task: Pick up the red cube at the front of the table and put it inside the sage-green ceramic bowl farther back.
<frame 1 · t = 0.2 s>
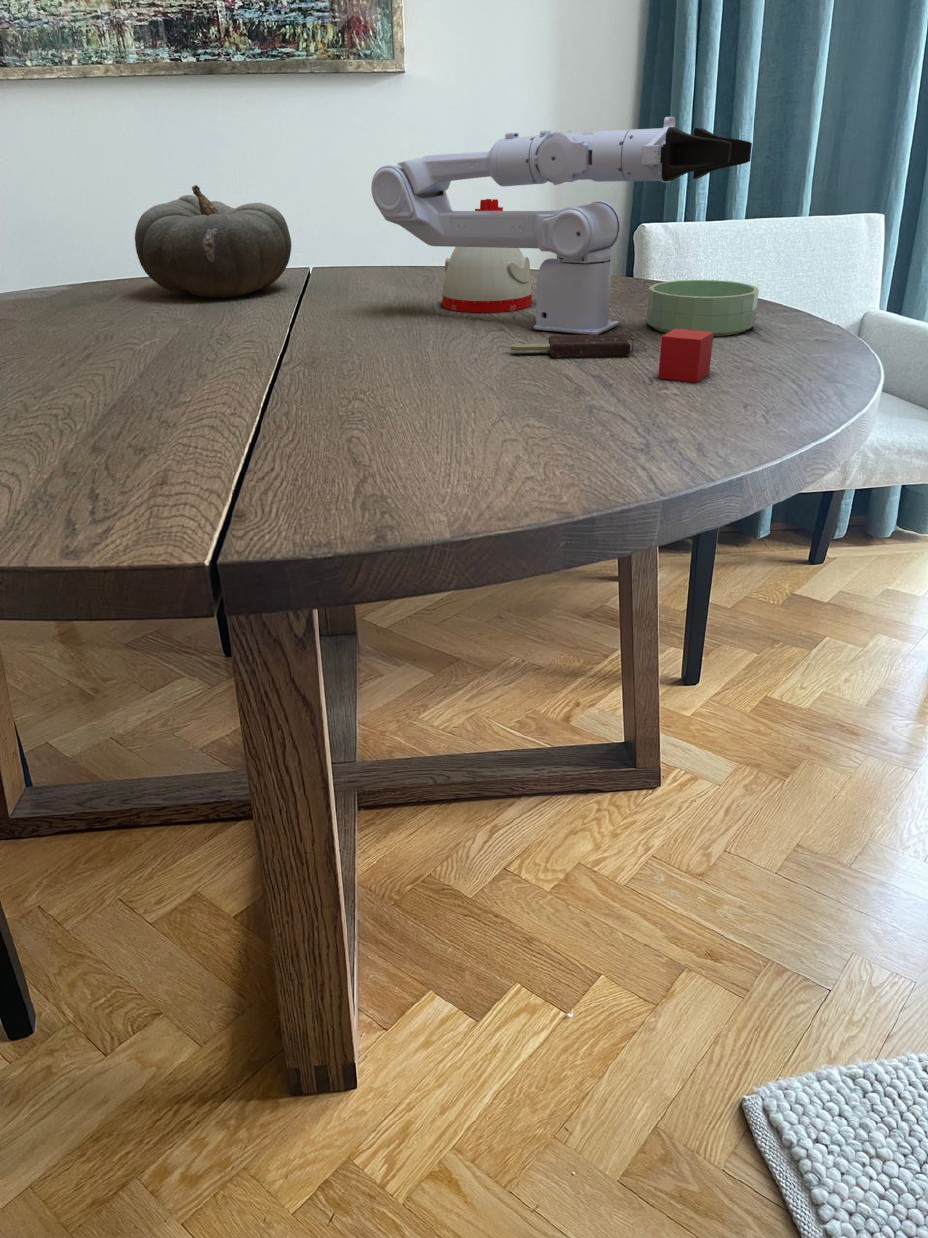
hand: (740, 152, 108), 22 cm above the table, tool horizontal, fingers open, 7 cm apart
kitchen timer: (487, 305, 145), on the table
red cube: (683, 376, 103), on the table
ice cream bar: (571, 354, 114), on the table
gourd: (223, 292, 161), on the table
bowl: (699, 326, 127), on the table
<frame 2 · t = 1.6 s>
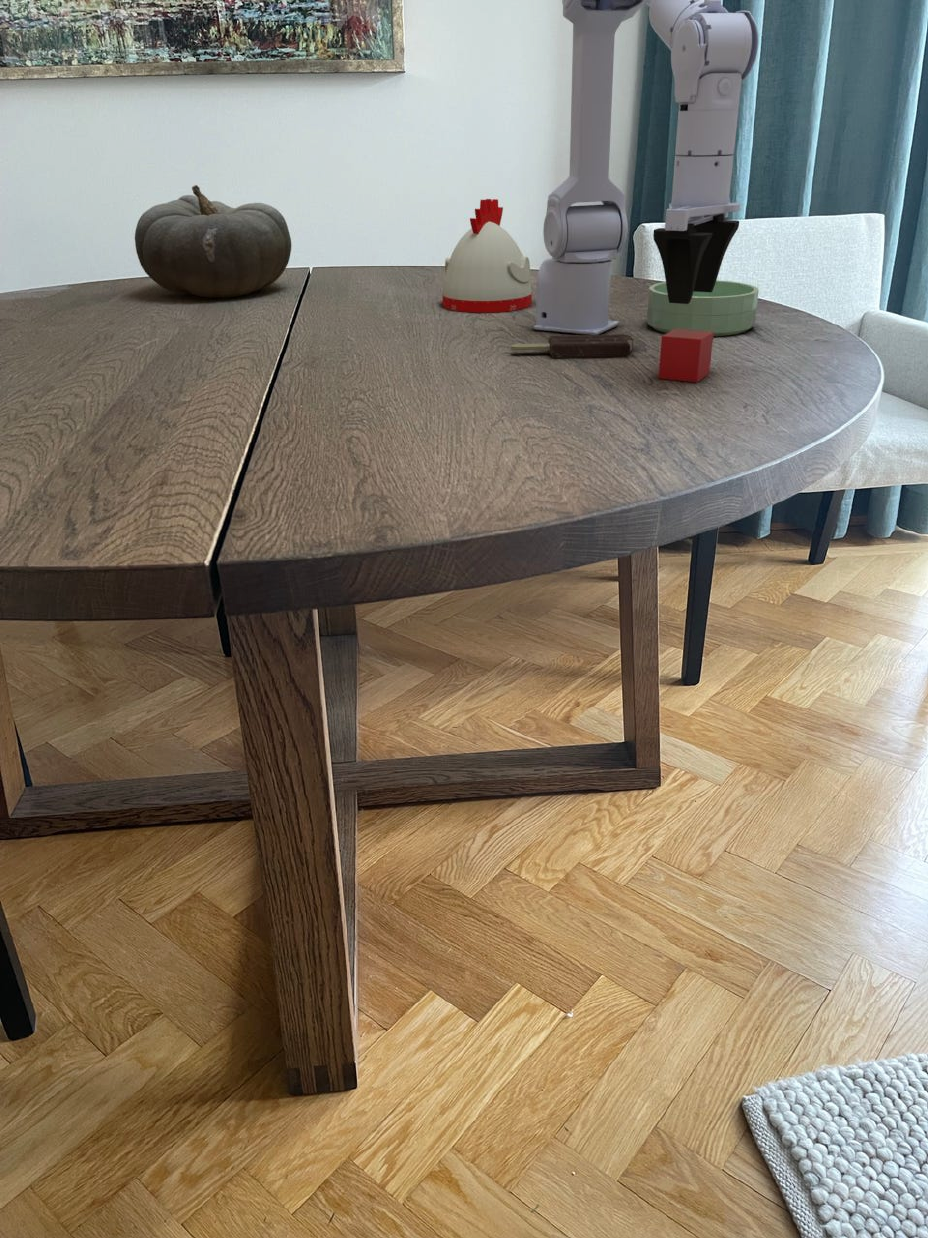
hand: (691, 297, 99), 8 cm above the table, tool pointing down, fingers open, 7 cm apart
nothing on the table moved.
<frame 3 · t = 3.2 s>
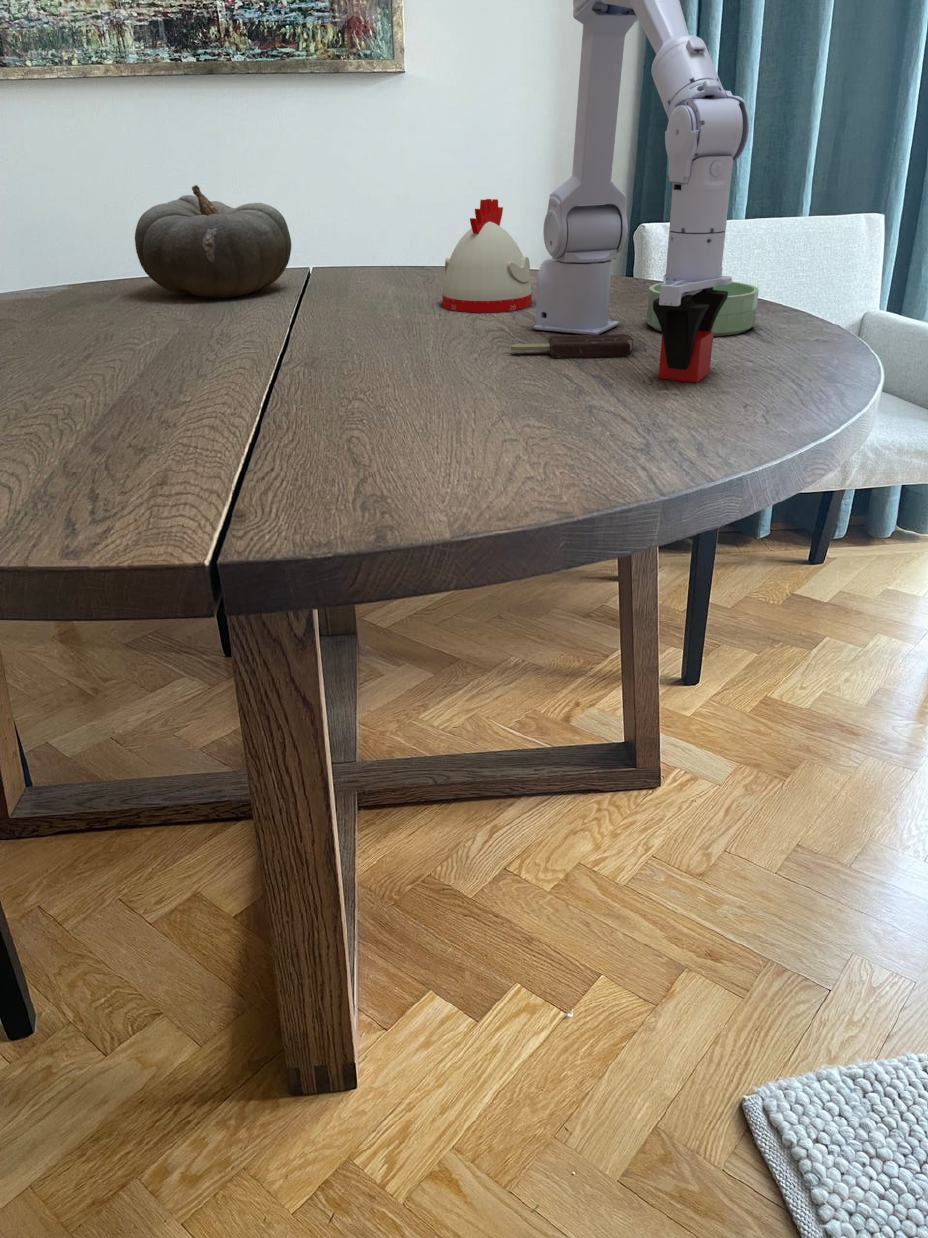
hand: (685, 363, 103), 1 cm above the table, tool pointing down, fingers closed on red cube, 4 cm apart
red cube: (684, 376, 103), on the table, touching gripper
everything else where it was.
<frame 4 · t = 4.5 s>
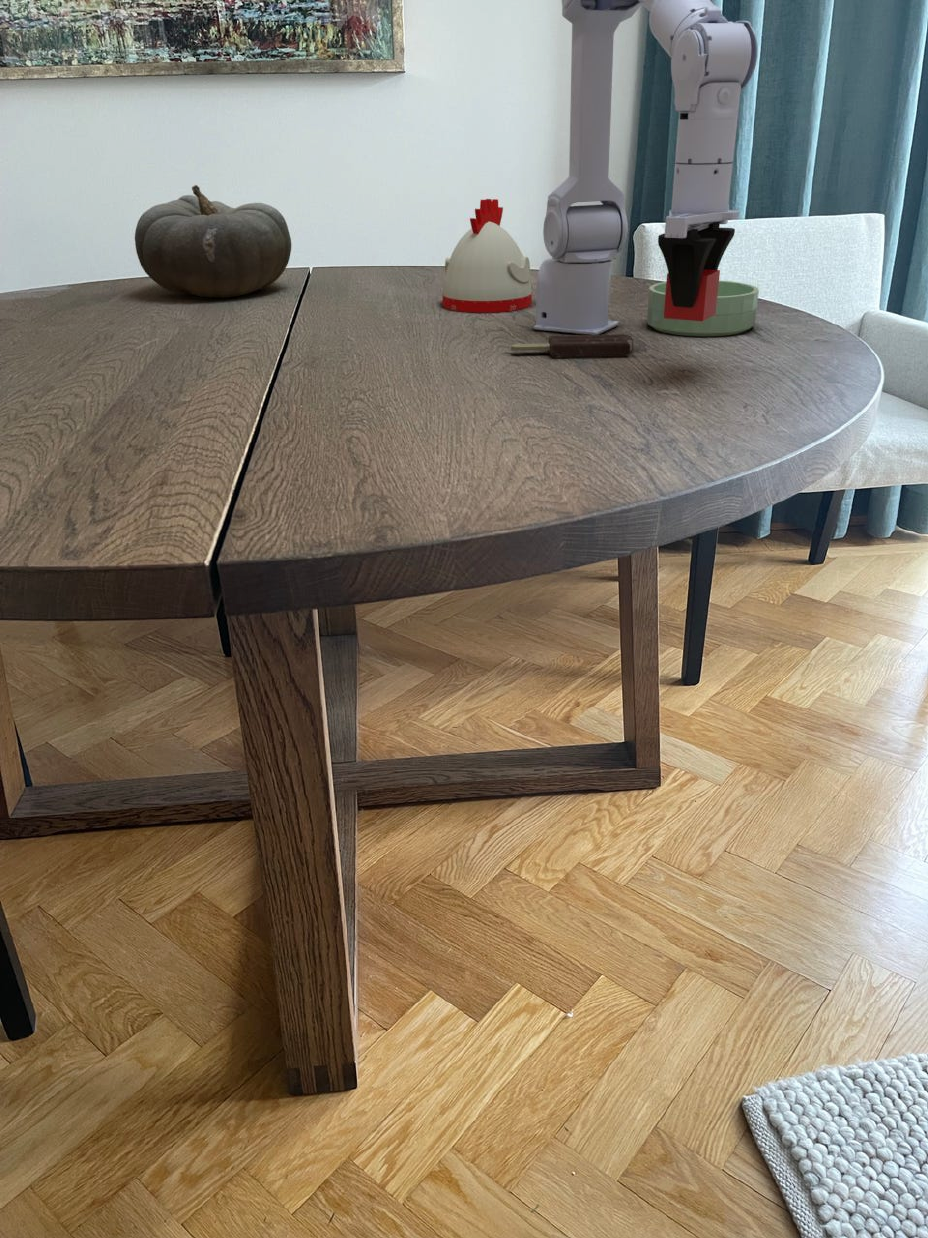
hand: (690, 302, 100), 8 cm above the table, tool pointing down, fingers closed on red cube, 4 cm apart
red cube: (689, 316, 101), point 6 cm above the table, touching gripper
everything else where it was.
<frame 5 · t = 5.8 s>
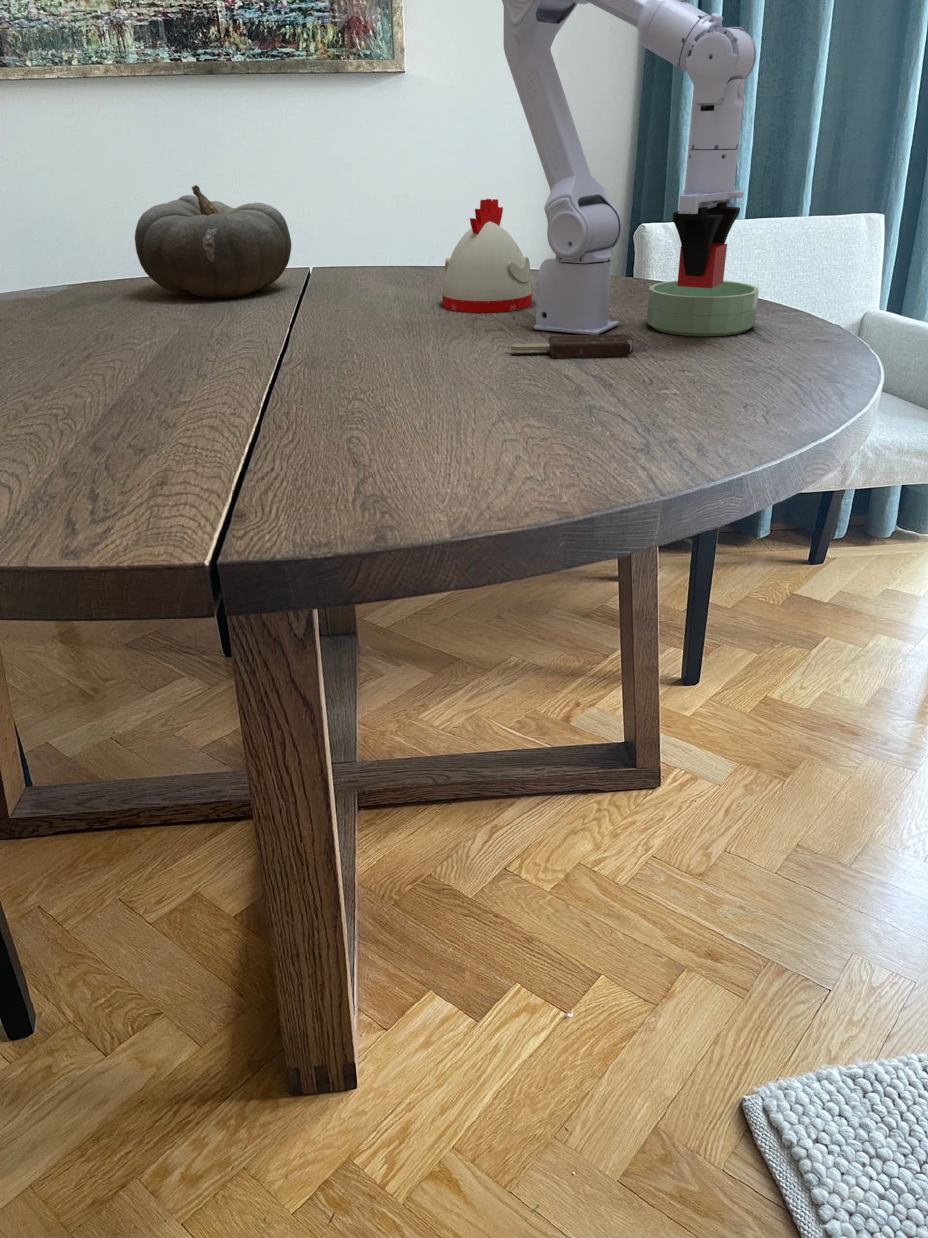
hand: (700, 272, 114), 8 cm above the table, tool pointing down, fingers closed on red cube, 4 cm apart
red cube: (700, 284, 115), point 7 cm above the table, touching gripper
everything else where it was.
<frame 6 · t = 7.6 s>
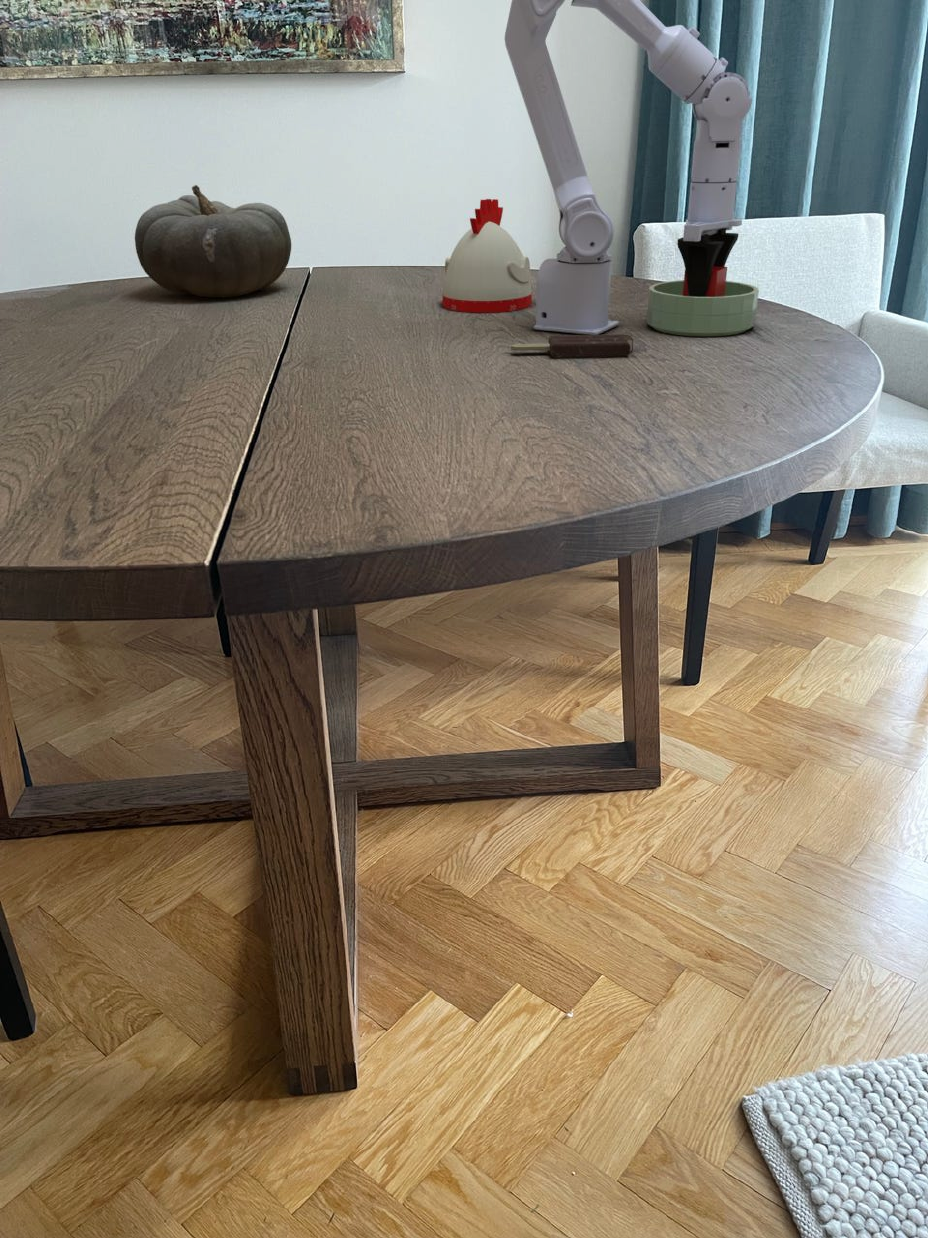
hand: (703, 293, 125), 4 cm above the table, tool pointing down, fingers closed on red cube, 4 cm apart
red cube: (702, 303, 125), point 3 cm above the table, touching gripper
everything else where it was.
when the fingers open (2 cm above the table, at t = 8.8 s): red cube stays where it is, resting on bowl.
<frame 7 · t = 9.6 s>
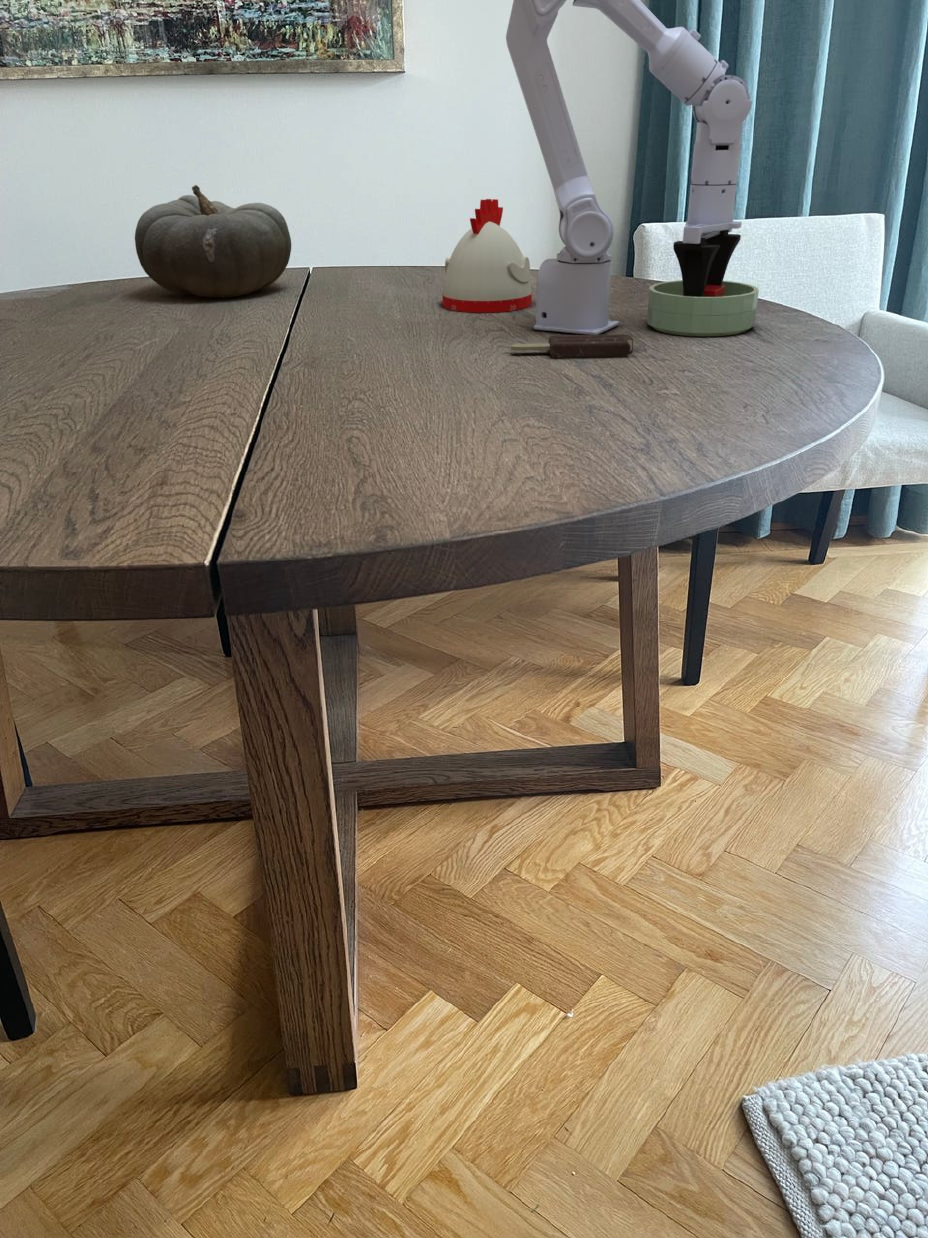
hand: (702, 295, 125), 4 cm above the table, tool pointing down, fingers open, 7 cm apart
red cube: (700, 322, 127), resting on bowl
everything else where it was.
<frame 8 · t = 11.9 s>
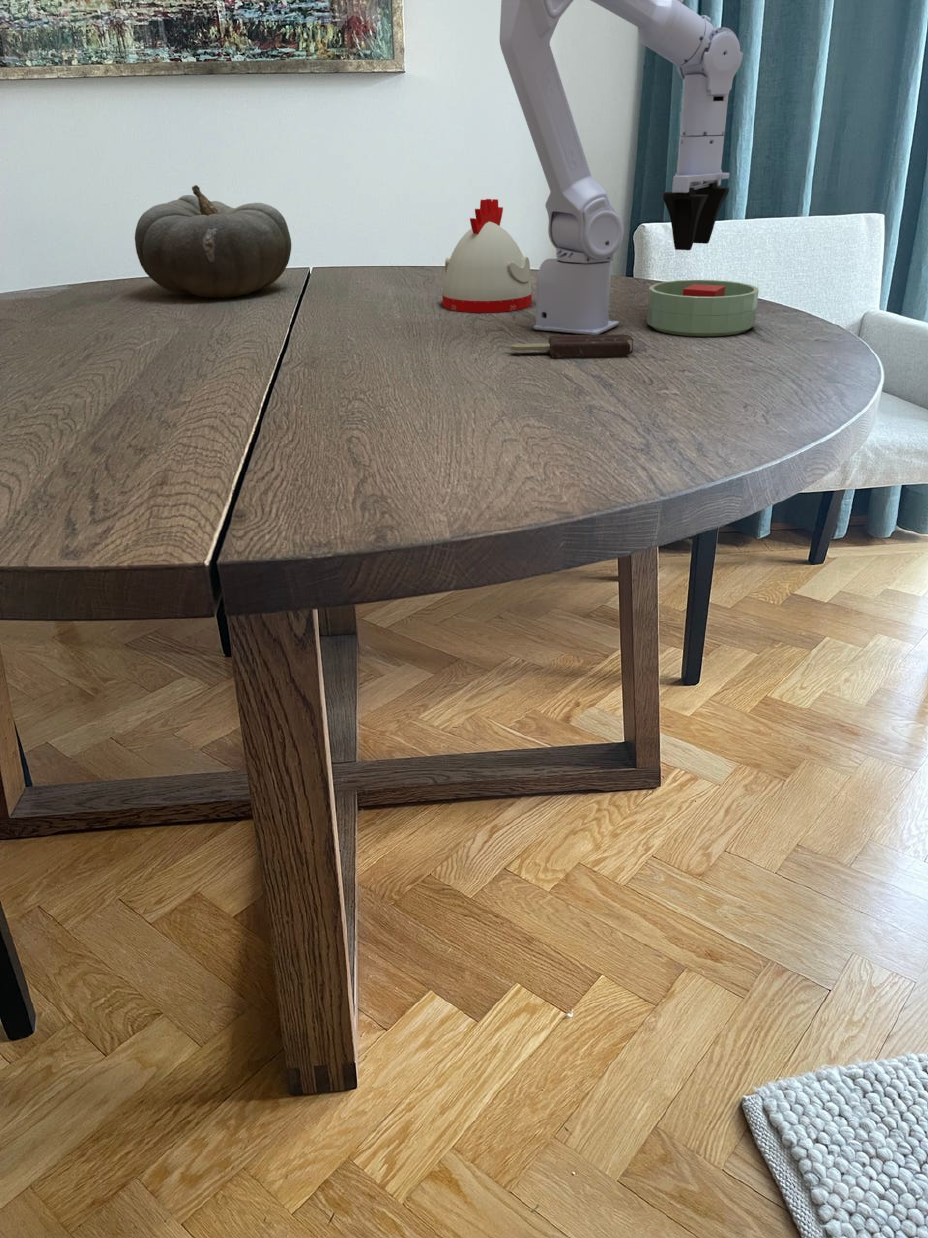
hand: (692, 246, 129), 9 cm above the table, tool pointing down, fingers open, 7 cm apart
nothing on the table moved.
at the end: red cube inside the target area in the bowl (0.1 cm from its centre), point 0.5 cm above the bowl's base; the gripper is holding nothing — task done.
